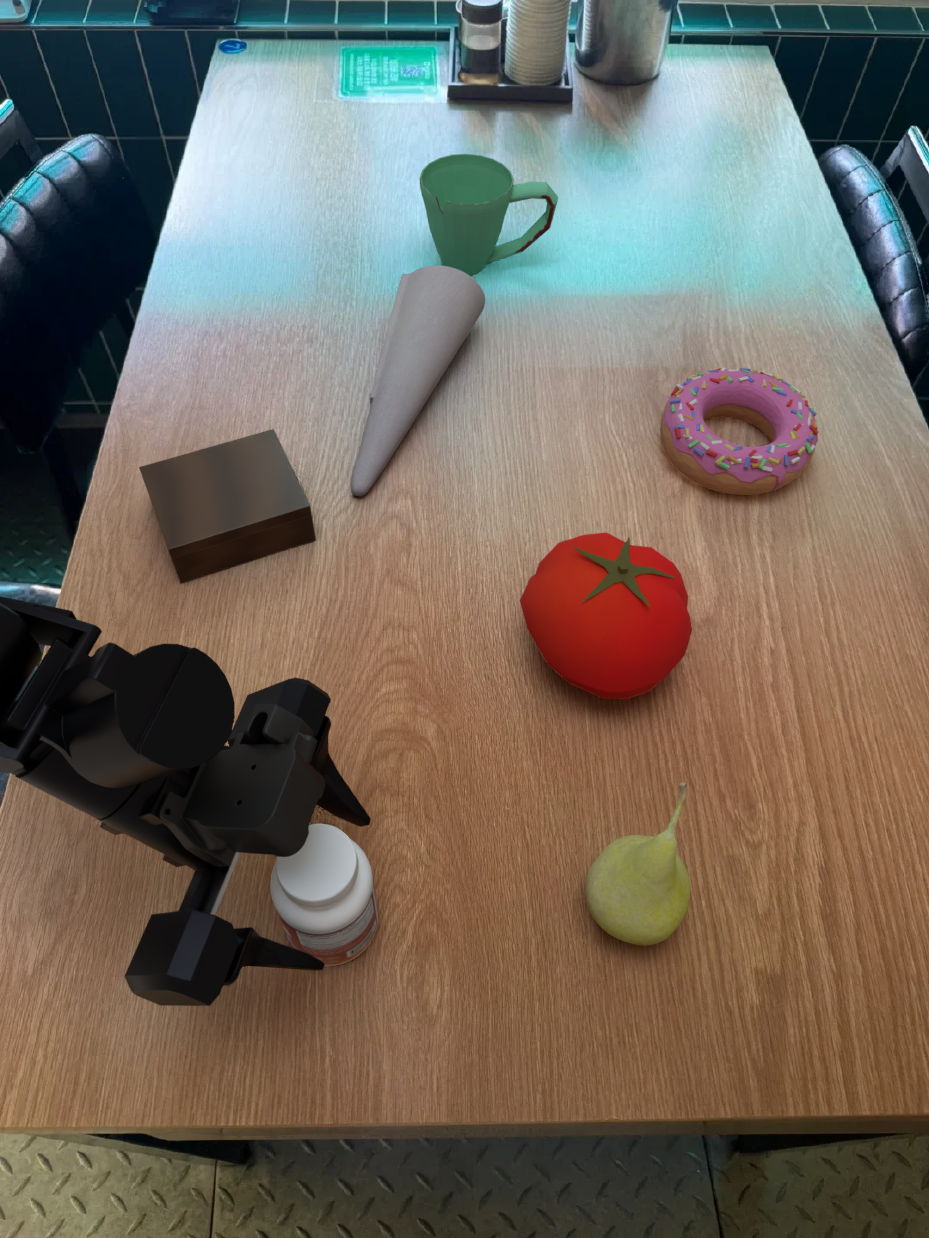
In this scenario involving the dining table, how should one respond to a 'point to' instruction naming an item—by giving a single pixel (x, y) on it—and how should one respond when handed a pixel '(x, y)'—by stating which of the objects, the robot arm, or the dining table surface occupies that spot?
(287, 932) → the pill bottle
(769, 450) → the donut
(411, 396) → the grey tapered cone
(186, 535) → the dark wooden box
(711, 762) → the dining table surface
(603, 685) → the tomato
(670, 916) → the fruit
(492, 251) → the mug
